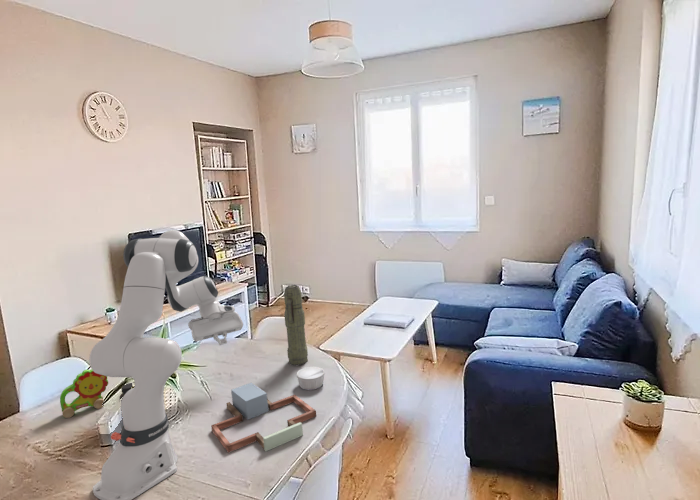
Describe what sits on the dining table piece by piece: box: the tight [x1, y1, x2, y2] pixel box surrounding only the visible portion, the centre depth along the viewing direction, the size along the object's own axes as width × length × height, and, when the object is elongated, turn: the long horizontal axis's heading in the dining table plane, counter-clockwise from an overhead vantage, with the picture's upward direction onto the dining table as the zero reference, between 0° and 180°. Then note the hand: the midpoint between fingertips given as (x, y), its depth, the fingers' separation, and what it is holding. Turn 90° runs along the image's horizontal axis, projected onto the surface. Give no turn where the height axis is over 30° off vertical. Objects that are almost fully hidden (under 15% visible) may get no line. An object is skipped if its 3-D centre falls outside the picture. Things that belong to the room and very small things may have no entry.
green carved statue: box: [283, 284, 309, 366], centre depth 193 cm, size 9×12×35 cm
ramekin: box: [296, 366, 326, 391], centre depth 172 cm, size 11×11×5 cm
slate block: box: [230, 382, 269, 421], centre depth 156 cm, size 12×8×7 cm, turn 39°
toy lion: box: [59, 368, 109, 419], centre depth 162 cm, size 16×5×15 cm, turn 126°
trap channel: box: [211, 394, 317, 454], centre depth 148 cm, size 32×31×2 cm
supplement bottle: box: [119, 382, 133, 400], centre depth 155 cm, size 7×7×12 cm
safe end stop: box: [262, 422, 304, 452], centre depth 135 cm, size 1×13×4 cm, turn 125°
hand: (223, 343), depth 172 cm, fingers closed
